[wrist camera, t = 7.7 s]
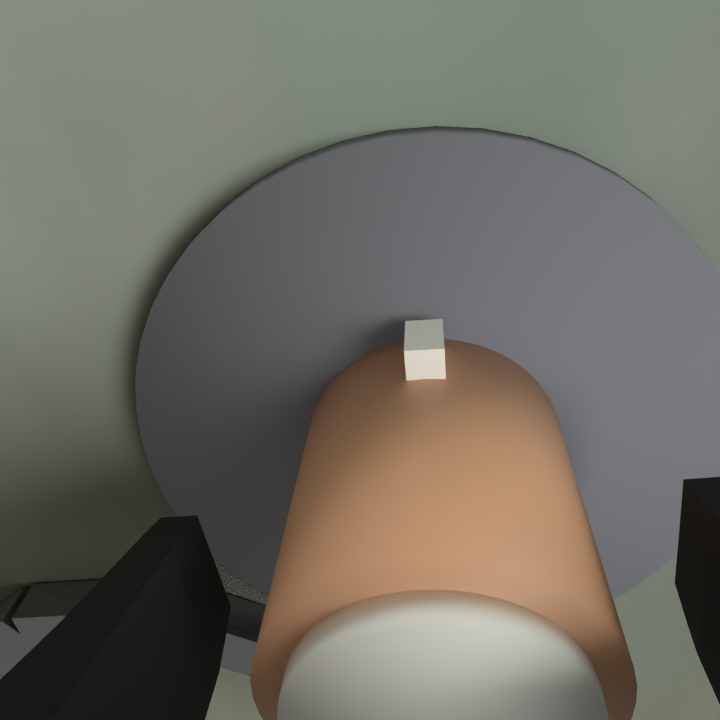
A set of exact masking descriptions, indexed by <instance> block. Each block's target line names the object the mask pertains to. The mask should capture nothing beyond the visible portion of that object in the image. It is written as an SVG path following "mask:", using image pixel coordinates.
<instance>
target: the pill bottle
mask: <svg viewBox="0 0 720 720" xmlns="http://www.w3.org/2000/svg"><path fill="white" fill-rule="evenodd" d="M251 687H252V692H253V698H254V701H255V703H256V706H257V708H258V711H259V713H260V715H261V717H262V718H263V720H631V718H632V715H633V711H634V708H635V704H636V694H637V683H636V677H635V671H634V667H633V664H632V660H631V657H630V654H629V651H628V647H627V644H626V641H625V637H624V634H623V631H622V628H621V624H620V621H619V618H618V615H617V611H616V608H615V605H614V601H613V598H612V595H611V592H610V588H609V585H608V582H607V579H606V575H605V572H604V569H603V566H602V562H601V559H600V556H599V552H598V549H597V546H596V543H595V539H594V536H593V533H592V530H591V526H590V523H589V520H588V516H587V513H586V510H585V507H584V503H583V500H582V497H581V494H580V490H579V487H578V484H577V481H576V477H575V474H574V471H573V467H572V464H571V461H570V458H569V454H568V451H567V448H566V445H565V441H564V438H563V435H562V431H561V428H560V425H559V422H558V418H557V415H556V413H555V410H554V408H553V405H552V403H551V401H550V399H549V398H548V396H547V394H546V392H545V391H544V390H543V388H542V387H541V386H540V385H539V383H538V382H537V381H536V380H535V379H534V378H533V377H532V376H531V375H530V374H529V373H528V372H527V371H526V370H525V369H524V368H522V367H521V366H519V365H518V364H517V363H515V362H514V361H512V360H511V359H509V358H507V357H505V356H503V355H502V354H500V353H498V352H496V351H493V350H491V349H488V348H485V347H483V346H480V345H476V344H472V343H468V342H464V341H458V340H450V339H444V333H443V319H431V320H413V321H405V337H404V342H400V343H396V344H392V345H388V346H386V347H383V348H380V349H377V350H375V351H373V352H371V353H369V354H367V355H365V356H363V357H361V358H359V359H358V360H356V361H355V362H353V363H352V364H350V365H349V366H347V367H346V368H345V369H344V370H343V371H342V372H341V373H339V374H338V375H337V376H336V377H335V378H334V379H333V380H332V382H331V383H330V384H329V385H328V387H327V388H326V389H325V391H324V392H323V394H322V395H321V397H320V399H319V400H318V403H317V405H316V407H315V410H314V412H313V415H312V419H311V424H310V428H309V432H308V436H307V440H306V444H305V448H304V452H303V456H302V460H301V464H300V468H299V473H298V477H297V481H296V485H295V489H294V493H293V497H292V501H291V505H290V509H289V513H288V518H287V522H286V526H285V530H284V534H283V538H282V542H281V546H280V550H279V554H278V558H277V563H276V567H275V571H274V575H273V579H272V583H271V587H270V591H269V595H268V599H267V603H266V608H265V612H264V616H263V620H262V624H261V628H260V632H259V636H258V640H257V644H256V648H255V653H254V657H253V661H252V666H251Z"/></svg>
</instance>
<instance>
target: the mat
mask: <svg viewBox="0 0 720 720" xmlns="http://www.w3.org/2000/svg"><path fill="white" fill-rule="evenodd" d="M431 319H443V333H444V339H450V340H458V341H464V342H468V343H472V344H476V345H480V346H483V347H485V348H488V349H491V350H493V351H496V352H498V353H500V354H502V355H503V356H505V357H507V358H509V359H511V360H512V361H514V362H515V363H517V364H518V365H519V366H521V367H522V368H524V369H525V370H526V371H527V372H528V373H529V374H530V375H531V376H532V377H533V378H534V379H535V380H536V381H537V382H538V383H539V385H540V386H541V387H542V388H543V390H544V391H545V392H546V394H547V396H548V398H549V399H550V401H551V403H552V405H553V408H554V410H555V413H556V415H557V418H558V422H559V425H560V428H561V431H562V435H563V438H564V441H565V445H566V448H567V451H568V454H569V458H570V461H571V464H572V467H573V471H574V474H575V477H576V481H577V484H578V487H579V490H580V494H581V497H582V500H583V503H584V507H585V510H586V513H587V516H588V520H589V523H590V526H591V530H592V533H593V536H594V539H595V543H596V546H597V549H598V552H599V556H600V559H601V562H602V566H603V569H604V572H605V575H606V579H607V582H608V585H609V588H610V592H611V595H612V598H613V599H615V598H617V597H618V596H620V595H621V594H623V593H625V592H626V591H628V590H629V589H631V588H633V587H634V586H636V585H637V584H639V583H641V582H642V581H644V580H645V579H646V578H648V577H649V576H650V575H651V574H653V573H654V572H655V571H656V570H658V569H659V568H660V567H661V566H663V565H664V564H665V563H666V562H668V561H669V560H670V559H671V558H672V557H673V556H674V555H675V554H676V553H677V552H678V540H679V528H680V515H681V503H682V491H683V479H696V478H709V477H720V275H719V273H718V272H717V270H716V269H715V268H714V266H713V265H712V263H711V262H710V261H709V259H708V258H707V257H706V255H705V254H704V253H703V251H702V250H701V249H700V247H699V246H698V245H697V243H696V242H695V240H694V239H693V238H692V237H691V236H690V235H689V234H688V233H687V232H686V231H685V230H684V229H683V228H681V227H680V226H679V225H678V224H677V223H676V222H675V221H674V220H673V219H672V218H671V217H670V216H669V215H668V214H667V213H666V212H665V211H664V210H663V209H662V208H661V207H660V206H659V205H658V204H657V203H656V202H655V201H654V200H653V199H652V198H651V197H649V196H648V195H646V194H645V193H644V192H642V191H641V190H639V189H638V188H636V187H635V186H634V185H632V184H631V183H629V182H628V181H627V180H625V179H624V178H622V177H621V176H620V175H618V174H617V173H615V172H613V171H611V170H609V169H607V168H605V167H603V166H601V165H599V164H597V163H595V162H593V161H591V160H590V159H588V158H586V157H584V156H582V155H580V154H578V153H576V152H573V151H570V150H567V149H564V148H561V147H558V146H555V145H552V144H549V143H546V142H543V141H540V140H537V139H534V138H531V137H526V136H521V135H516V134H510V133H505V132H499V131H494V130H489V129H482V128H461V127H439V126H434V127H423V128H412V129H400V130H389V131H384V132H380V133H376V134H371V135H367V136H362V137H358V138H354V139H349V140H345V141H341V142H339V143H336V144H333V145H331V146H328V147H325V148H323V149H320V150H318V151H315V152H312V153H310V154H307V155H304V156H302V157H299V158H298V159H296V160H294V161H292V162H290V163H288V164H287V165H285V166H283V167H281V168H279V169H277V170H276V171H274V172H272V173H270V174H268V175H266V176H265V177H263V178H261V179H260V180H259V181H257V182H256V183H255V184H253V185H252V186H251V187H249V188H248V189H247V190H245V191H244V192H243V193H241V194H240V195H239V196H237V197H236V198H235V199H233V200H232V201H231V202H229V203H228V204H227V205H226V206H225V207H224V208H223V209H222V210H221V211H220V212H219V213H218V214H217V215H216V216H215V217H214V218H213V219H212V220H211V221H210V222H209V223H208V224H207V225H206V226H205V227H204V228H203V229H202V231H201V232H200V233H199V234H198V235H197V236H196V238H195V239H194V240H193V241H192V242H191V244H190V245H189V246H188V248H187V249H186V250H185V252H184V253H183V255H182V256H181V257H180V259H179V260H178V261H177V263H176V264H175V266H174V267H173V268H172V270H171V271H170V272H169V274H168V275H167V277H166V279H165V281H164V283H163V285H162V287H161V289H160V291H159V293H158V295H157V297H156V299H155V301H154V303H153V305H152V307H151V310H150V313H149V316H148V319H147V322H146V325H145V328H144V331H143V335H142V338H141V341H140V347H139V354H138V361H137V367H136V374H135V382H136V412H137V418H138V424H139V430H140V436H141V440H142V443H143V447H144V450H145V453H146V456H147V459H148V462H149V465H150V468H151V470H152V472H153V475H154V477H155V479H156V481H157V483H158V485H159V487H160V489H161V491H162V493H163V495H164V497H165V499H166V500H167V502H168V503H169V505H170V506H171V508H172V509H173V511H174V512H175V514H176V515H177V517H180V516H193V515H197V516H198V519H199V521H200V524H201V527H202V530H203V532H204V535H205V538H206V540H207V543H208V546H209V549H210V551H211V554H212V556H213V557H214V558H215V559H216V560H217V561H218V562H219V563H220V564H221V565H222V566H224V567H225V568H226V569H228V570H229V571H230V572H232V573H233V574H234V575H235V576H237V577H238V578H239V579H241V580H242V581H243V582H245V583H246V584H247V585H249V586H251V587H252V588H254V589H256V590H257V591H259V592H261V593H262V594H264V595H266V596H267V597H268V595H269V591H270V587H271V583H272V579H273V575H274V571H275V567H276V563H277V558H278V554H279V550H280V546H281V542H282V538H283V534H284V530H285V526H286V522H287V518H288V513H289V509H290V505H291V501H292V497H293V493H294V489H295V485H296V481H297V477H298V473H299V468H300V464H301V460H302V456H303V452H304V448H305V444H306V440H307V436H308V432H309V428H310V424H311V419H312V415H313V412H314V410H315V407H316V405H317V403H318V400H319V399H320V397H321V395H322V394H323V392H324V391H325V389H326V388H327V387H328V385H329V384H330V383H331V382H332V380H333V379H334V378H335V377H336V376H337V375H338V374H339V373H341V372H342V371H343V370H344V369H345V368H346V367H347V366H349V365H350V364H352V363H353V362H355V361H356V360H358V359H359V358H361V357H363V356H365V355H367V354H369V353H371V352H373V351H375V350H377V349H380V348H383V347H386V346H388V345H392V344H396V343H400V342H404V337H405V321H413V320H431Z"/></svg>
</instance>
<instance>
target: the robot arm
mask: <svg viewBox="0 0 720 720" xmlns="http://www.w3.org/2000/svg"><path fill="white" fill-rule="evenodd" d="M675 585H676V588H677V591H678V594H679V598H680V601H681V604H682V608H683V611H684V614H685V617H686V621H687V624H688V627H689V630H690V633H691V636H692V639H693V642H694V645H695V648H696V651H697V654H698V656H699V658H700V661H701V663H702V665H703V668H704V670H705V672H706V674H707V677H708V679H709V681H710V683H711V686H712V688H713V690H714V692H715V695H716V697H717V699H718V701H719V703H720V477H709V478H696V479H683V491H682V503H681V515H680V528H679V540H678V552H677V564H676V577H675ZM230 608H231V605H230V603H229V600H228V597H227V594H226V592H225V589H224V586H223V584H222V581H221V578H220V576H219V573H218V570H217V567H216V565H215V562H214V559H213V557H212V554H211V551H210V549H209V546H208V543H207V540H206V538H205V535H204V532H203V530H202V527H201V524H200V521H199V519H198V516H197V515H193V516H180V517H166V518H160V519H159V520H158V521H157V522H156V523H155V524H154V525H153V526H152V527H151V528H150V529H149V530H148V531H147V532H146V533H145V534H144V535H143V536H142V537H141V538H140V539H139V540H138V541H137V542H136V543H135V544H134V545H133V546H132V548H131V549H130V550H129V551H128V552H127V553H126V554H125V555H124V556H123V557H122V558H121V559H120V560H119V561H118V562H117V563H116V564H115V565H114V567H113V568H112V569H111V570H110V571H109V572H108V573H107V574H106V575H105V576H104V577H103V578H102V579H101V580H100V581H99V582H98V583H97V584H96V585H95V586H94V588H93V589H92V590H91V591H90V592H89V593H88V594H87V595H86V596H85V597H84V598H83V599H82V600H81V601H80V602H79V603H78V604H77V605H76V606H75V607H74V608H73V609H72V610H71V611H70V612H69V613H68V614H67V615H66V616H65V617H64V618H63V620H62V621H61V622H60V623H59V624H58V625H57V626H56V627H55V628H54V629H53V630H51V631H50V632H49V633H48V634H47V635H46V636H45V637H44V638H43V639H42V640H41V641H40V642H39V643H38V644H37V645H36V646H35V647H34V648H33V649H32V650H31V651H30V652H29V653H28V654H26V655H25V656H24V657H23V658H22V659H21V660H20V661H19V662H18V663H17V664H16V665H15V666H14V667H13V668H12V669H11V670H10V671H9V672H8V673H7V674H6V675H5V676H4V677H3V678H1V679H0V720H205V717H206V714H207V711H208V707H209V704H210V701H211V697H212V694H213V691H214V687H215V684H216V681H217V677H218V674H219V670H220V665H221V660H222V654H223V649H224V644H225V638H226V632H227V626H228V620H229V614H230Z"/></svg>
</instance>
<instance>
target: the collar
mask: <svg viewBox="0 0 720 720" xmlns="http://www.w3.org/2000/svg"><path fill="white" fill-rule="evenodd" d="M99 581H100V580H90V581H73V582H57V583H41V584H33V585H32V587H31V588H30V590H28V589H27V588H25V587H23V588H22V589H20V590H19V591H17V592H16V593H14V594H13V595H11V596H10V597H8V598H7V599H5V600H4V601H2V602H1V603H0V677H1V676H3V675H4V674H6V673H7V672H9V671H10V670H11V669H12V668H13V667H14V666H15V665H16V664H17V663H18V662H19V661H20V660H21V659H22V658H23V657H24V656H25V655H26V654H28V653H29V652H30V651H31V650H32V649H33V648H34V647H35V646H36V645H37V644H38V643H39V642H40V641H41V640H42V639H43V638H44V637H45V636H46V635H47V634H48V633H49V632H50V631H51V630H53V629H54V628H55V627H56V626H57V625H58V624H59V623H60V622H61V621H62V620H63V618H64V617H65V616H66V615H67V614H68V613H69V612H70V611H71V610H72V609H73V608H74V607H75V606H76V605H77V604H78V603H79V602H80V601H81V600H82V599H83V598H84V597H85V596H86V595H87V594H88V593H89V592H90V591H91V590H92V589H93V588H94V586H95V585H96V584H97V583H98V582H99ZM227 597H228V600H229V603H230V605H231V608H230V614H229V620H228V626H227V632H226V638H225V644H224V649H223V654H222V660H221V665H220V667H223V668H226V669H230V670H233V671H236V672H239V673H243V674H246V675H249V676H251V666H252V661H253V657H254V653H255V648H256V644H257V640H258V636H259V632H260V628H261V624H262V620H263V616H264V612H265V608H266V606H264V605H261V604H258V603H255V602H251V601H248V600H245V599H242V598H239V597H236V596H232V595H229V594H227Z"/></svg>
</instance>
